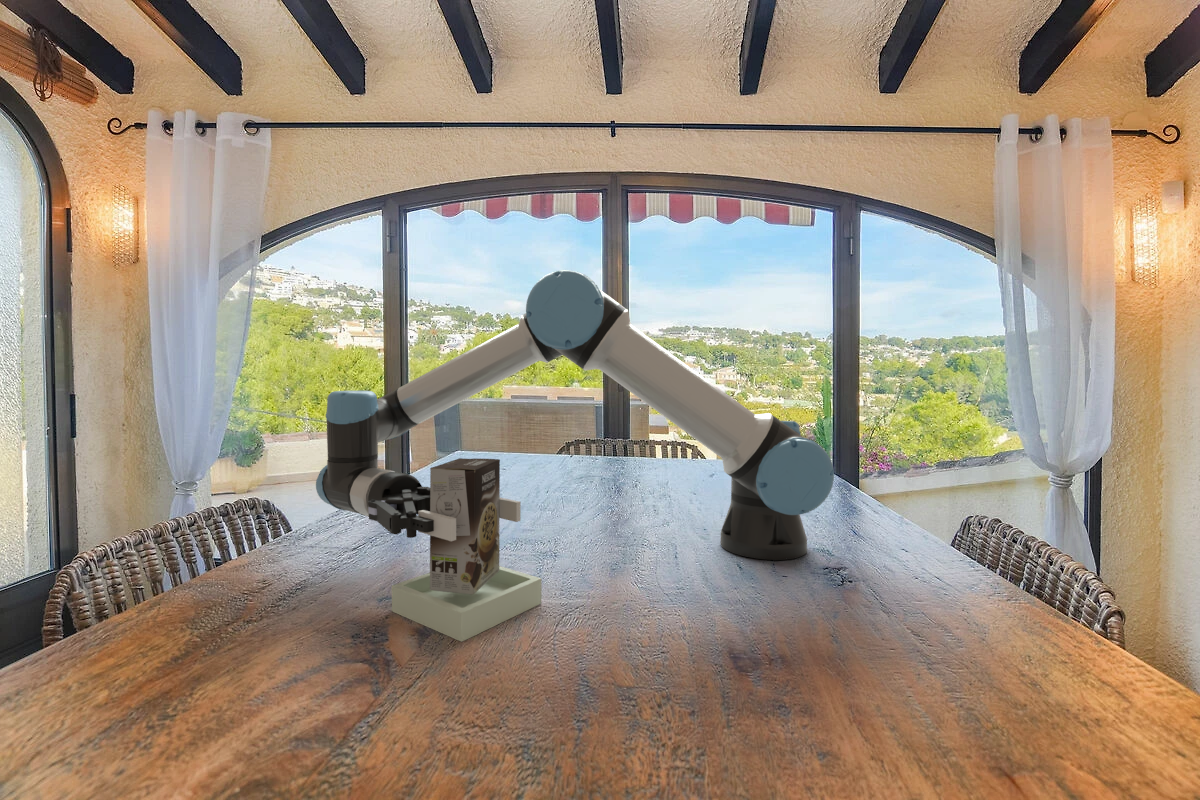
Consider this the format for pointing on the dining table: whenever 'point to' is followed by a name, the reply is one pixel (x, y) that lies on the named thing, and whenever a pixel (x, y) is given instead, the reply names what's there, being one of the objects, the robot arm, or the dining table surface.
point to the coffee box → (466, 524)
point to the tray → (467, 603)
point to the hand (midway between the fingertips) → (488, 520)
